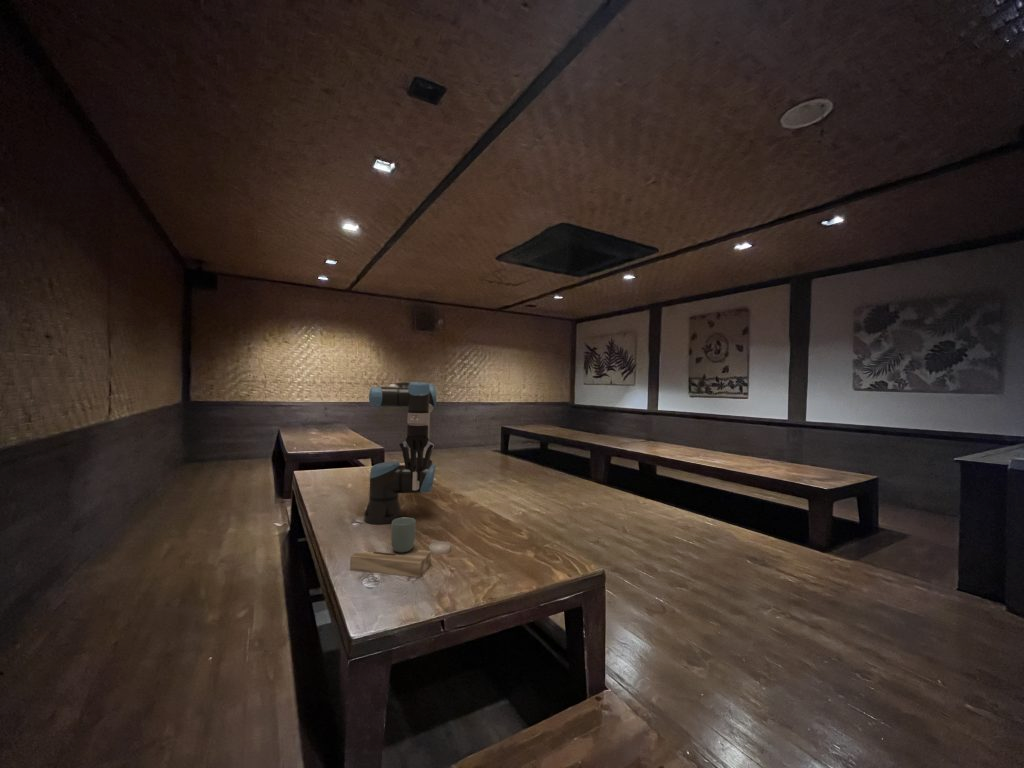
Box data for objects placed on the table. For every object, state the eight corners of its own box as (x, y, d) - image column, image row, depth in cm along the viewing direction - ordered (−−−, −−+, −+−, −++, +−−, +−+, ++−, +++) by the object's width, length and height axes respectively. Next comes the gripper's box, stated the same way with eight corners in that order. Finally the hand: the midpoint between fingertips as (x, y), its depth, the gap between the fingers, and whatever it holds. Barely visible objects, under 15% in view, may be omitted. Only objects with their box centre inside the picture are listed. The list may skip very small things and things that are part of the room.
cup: (408, 556, 129) (409, 525, 129) (386, 553, 131) (387, 523, 131) (418, 547, 137) (419, 518, 137) (397, 544, 138) (398, 516, 138)
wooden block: (365, 557, 127) (366, 544, 127) (430, 564, 124) (431, 550, 124) (350, 569, 118) (350, 555, 118) (419, 577, 115) (420, 562, 115)
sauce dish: (433, 546, 139) (433, 540, 139) (452, 547, 138) (452, 542, 138) (426, 554, 132) (426, 548, 132) (446, 556, 131) (446, 550, 131)
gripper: (396, 424, 141) (394, 490, 141) (431, 426, 139) (429, 493, 139) (405, 423, 149) (403, 485, 148) (438, 424, 147) (436, 488, 146)
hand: (415, 489), depth 143 cm, fingers closed
